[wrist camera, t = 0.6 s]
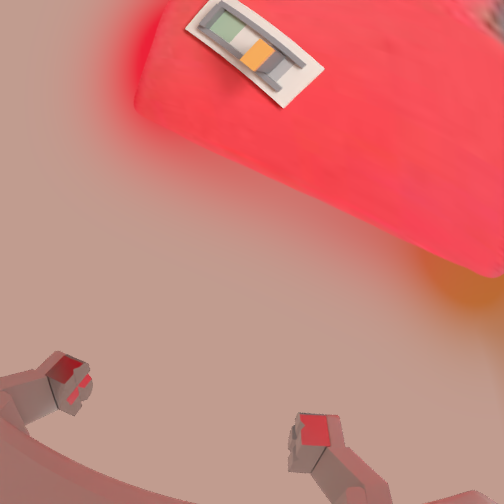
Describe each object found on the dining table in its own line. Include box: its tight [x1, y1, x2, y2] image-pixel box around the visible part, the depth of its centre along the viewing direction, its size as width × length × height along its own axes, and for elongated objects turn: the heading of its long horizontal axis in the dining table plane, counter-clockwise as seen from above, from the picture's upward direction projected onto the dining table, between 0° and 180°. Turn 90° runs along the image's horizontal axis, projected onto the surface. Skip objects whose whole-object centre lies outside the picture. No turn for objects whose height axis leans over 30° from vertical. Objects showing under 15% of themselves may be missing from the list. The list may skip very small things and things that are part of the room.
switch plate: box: [185, 0, 325, 108], centre depth 41 cm, size 24×10×4 cm, turn 48°
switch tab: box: [240, 39, 285, 73], centre depth 37 cm, size 3×4×10 cm, turn 138°
